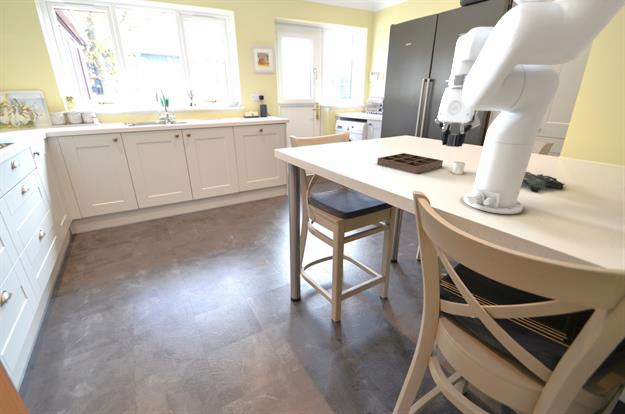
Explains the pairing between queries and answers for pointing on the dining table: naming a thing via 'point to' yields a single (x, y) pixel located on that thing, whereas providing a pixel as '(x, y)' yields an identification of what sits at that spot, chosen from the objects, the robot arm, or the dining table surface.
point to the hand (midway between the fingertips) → (452, 145)
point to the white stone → (458, 167)
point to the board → (410, 163)
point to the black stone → (451, 140)
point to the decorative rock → (540, 181)
